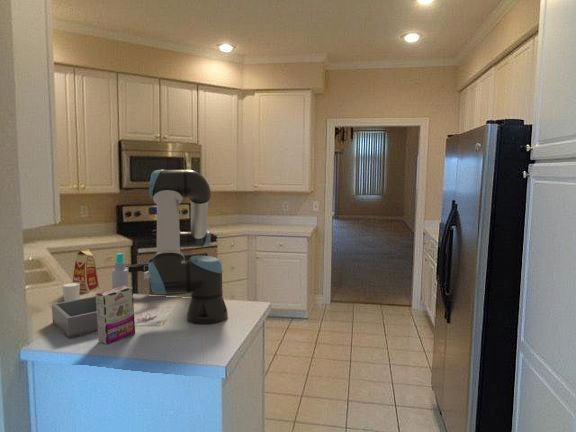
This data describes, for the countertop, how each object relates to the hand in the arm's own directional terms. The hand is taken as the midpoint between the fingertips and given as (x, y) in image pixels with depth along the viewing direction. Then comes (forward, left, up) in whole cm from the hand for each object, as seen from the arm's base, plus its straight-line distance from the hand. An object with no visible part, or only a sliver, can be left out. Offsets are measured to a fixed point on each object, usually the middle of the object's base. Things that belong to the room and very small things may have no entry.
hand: (130, 274), depth 180 cm
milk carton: (+34, +8, -12) cm, 37 cm away
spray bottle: (-4, +6, -12) cm, 14 cm away
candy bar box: (-35, +19, -12) cm, 42 cm away
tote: (-15, +23, -12) cm, 30 cm away
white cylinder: (+20, +18, -12) cm, 30 cm away
